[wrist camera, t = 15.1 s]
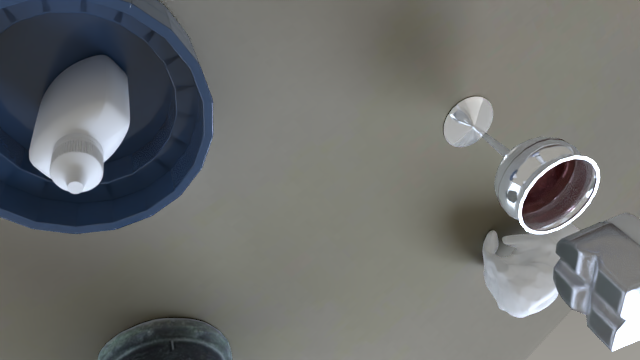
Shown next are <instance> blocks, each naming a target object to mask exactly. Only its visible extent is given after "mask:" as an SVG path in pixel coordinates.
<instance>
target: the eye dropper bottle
mask: <svg viewBox="0 0 640 360" xmlns="http://www.w3.org/2000/svg"><path fill="white" fill-rule="evenodd" d="M129 125H130V107H129V92H128V78H127V75H126V74H125V72H124V71H123V70H122V69H121V68H120V67H119V66H118V65H117V64H116V63H115V62H114V61H113V60H112V59H111V58H110V57H108V56H106V55H96V56H92V57H89V58H86V59H84V60H81V61H79V62H77V63H75V64H73V65H71V66H70V67H68V68H67V69H65V70H64V71H63V72H62V73H61V74H59V75H58V76H57V77H56V78H55V80H54V81H53V82H52V83H51V84H50V86H49V87H48V89H47V90H46V92H45V94H44V96H43V98H42V101H41V103H40V107H39V111H38V115H37V119H36V123H35V127H34V131H33V136H32V140H31V144H30V149H29V160H30V162H31V163H32V165H33V166H34V167H36V168H37V169H38V170H39V171H40V172H42V173H43V174H44V175H46V176H47V177H49V178H51V179H52V180H53V182H54V183H55V184H56V185H57V186H59V187H60V188H61V189H63V190H66V191H69V192H70V193H72V194H79V193H81V192H85V191H88V190H90V189H92V188H94V187H96V185H98V184H99V183H100V181H101V180H102V177H103V170H104V162H105V161H106V160H107V159H108V158H109V157H110V156H111V155H112V154H113V153H114V152H115V151H116V149H117V148H118V147H119V145H120V144H121V142H122V141H123V139H124V137H125V135H126V133H127V131H128V128H129Z"/></svg>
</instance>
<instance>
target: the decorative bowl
mask: <svg viewBox="0 0 640 360" xmlns="http://www.w3.org/2000/svg"><path fill="white" fill-rule="evenodd" d="M98 360H232V353H231V348H230V345H229V342H228V340H227V339H226V338H225V337H224V336H223V334H222V333H221V332H220V331H219V330H218V329H216V328H214V327H213V326H211V325H209V324H207V323H205V322H202V321H199V320H194V319H185V318H163V319H154V320H151V321H148V322H144V323H142V324H139V325H137V326H134V327H132V328H129V329H127V330H125V331H123V332H121V333H119V334H118V335H117V336H115V337H114V338H113V339H111V340H110V341H109V342H108V343H107V344H106V345H105V346H104V347H103V348H102V349H101V351H100V353H99V356H98Z"/></svg>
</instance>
